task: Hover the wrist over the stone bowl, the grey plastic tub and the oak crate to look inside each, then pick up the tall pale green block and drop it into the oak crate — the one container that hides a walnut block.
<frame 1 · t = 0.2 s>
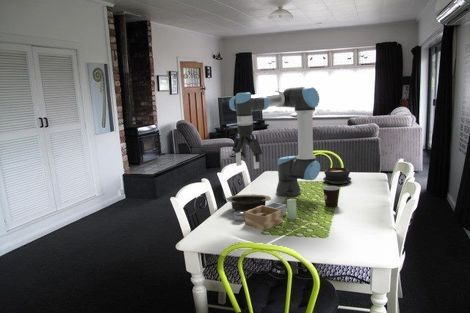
hand: (247, 166, 189), 27 cm above the table, fingers open, 13 cm apart
casserole: (337, 181, 257), on the table
walnut block: (258, 221, 186), point 1 cm above the table, touching oak crate
coffee mug: (331, 205, 208), on the table
pale green block: (292, 219, 189), on the table
stone bowl: (249, 210, 208), on the table
pewter tin: (240, 221, 191), on the table
grey tub: (275, 216, 194), on the table
oak crate: (264, 224, 184), on the table
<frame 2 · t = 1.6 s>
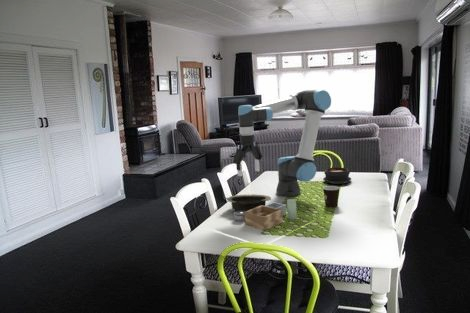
hand: (249, 173, 204), 21 cm above the table, fingers open, 13 cm apart
nothing on the table moved.
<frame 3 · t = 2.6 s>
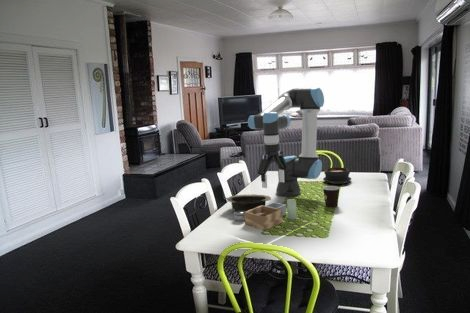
hand: (273, 184, 192), 17 cm above the table, fingers open, 13 cm apart
nothing on the table moved.
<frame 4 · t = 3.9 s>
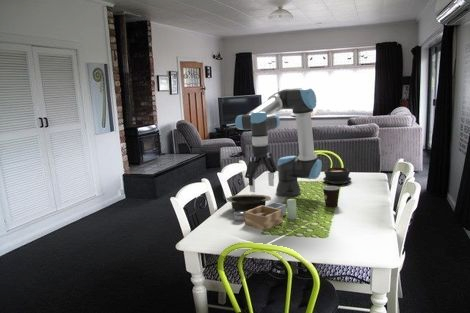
hand: (262, 188, 181), 18 cm above the table, fingers open, 13 cm apart
nothing on the table moved.
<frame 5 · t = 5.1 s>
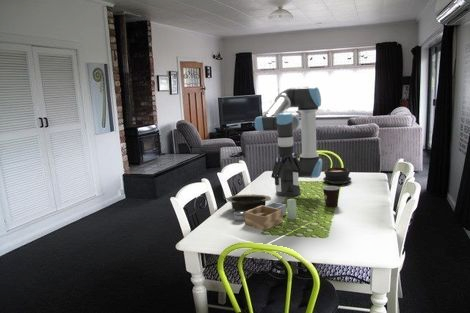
hand: (287, 188, 186), 16 cm above the table, fingers open, 13 cm apart
nothing on the table moved.
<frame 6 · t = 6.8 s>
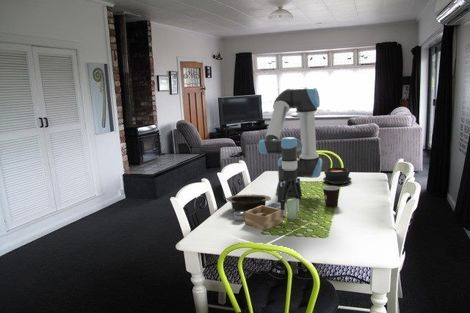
hand: (290, 213, 187), 3 cm above the table, fingers open, 9 cm apart
nothing on the table moved.
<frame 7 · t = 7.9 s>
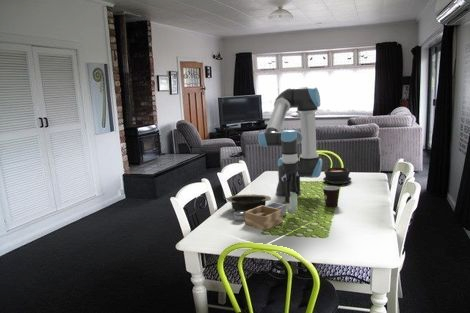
hand: (292, 207, 188), 6 cm above the table, fingers closed on pale green block, 4 cm apart
pale green block: (292, 212, 189), point 3 cm above the table, touching gripper
everything else where it was.
when the fingers open (9 cm above the table, at t = 10.5 s): pale green block drops 6 cm, resting on oak crate.
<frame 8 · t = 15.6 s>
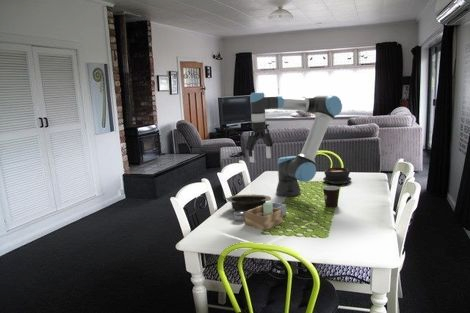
hand: (260, 160, 207), 27 cm above the table, fingers open, 13 cm apart
pale green block: (268, 224, 182), point 1 cm above the table, touching oak crate
everything else where it was.
at the end: pale green block inside the target area on the oak crate (2.7 cm from its centre), point 0.8 cm above the oak crate's base; the gripper is holding nothing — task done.
